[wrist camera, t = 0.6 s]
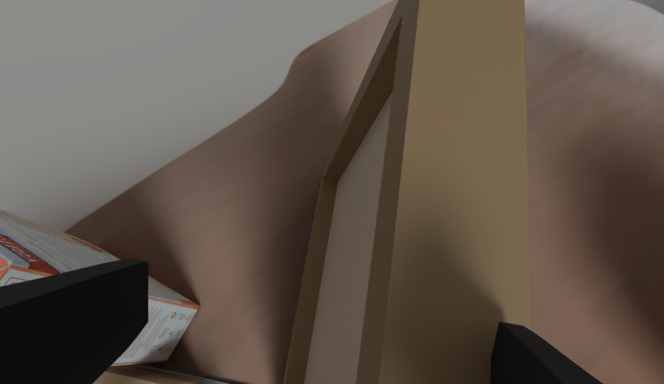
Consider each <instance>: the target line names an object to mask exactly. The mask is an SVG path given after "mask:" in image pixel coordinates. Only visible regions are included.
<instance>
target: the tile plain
mask: <svg viewBox="0 0 664 384" xmlns="http://www.w3.org/2000/svg"><path fill="white" fill-rule="evenodd" d="M201 382H202V380H198V379H193V378H189V377H184V376H179V375H175V374H170V373H166V372H161V371H157V370H152V369H148V368H143V367H139V366H134V365H119V366H110V367H109V368H108V369H107V370H106V371H105V372H104V373H103V374H102V375H101V376H100V377H99V378H98V379H97V380H96V381H95V382H94V383H93V384H201Z"/></svg>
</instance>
